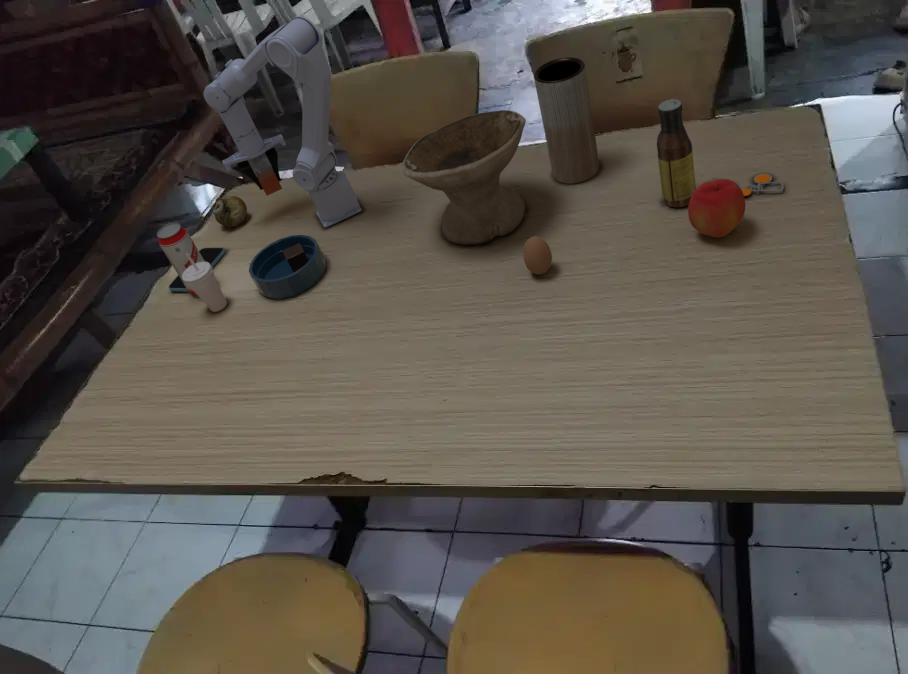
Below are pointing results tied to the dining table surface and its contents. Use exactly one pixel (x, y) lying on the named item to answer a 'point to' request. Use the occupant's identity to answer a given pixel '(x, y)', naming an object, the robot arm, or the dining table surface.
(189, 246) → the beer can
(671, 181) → the sauce bottle
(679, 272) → the dining table surface
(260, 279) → the teal bowl
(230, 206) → the onion
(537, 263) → the egg
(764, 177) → the key chain
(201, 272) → the smoothie
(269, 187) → the terracotta block
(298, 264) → the walnut block
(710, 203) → the apple
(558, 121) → the planter
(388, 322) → the dining table surface
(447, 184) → the bowl
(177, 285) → the smartphone
